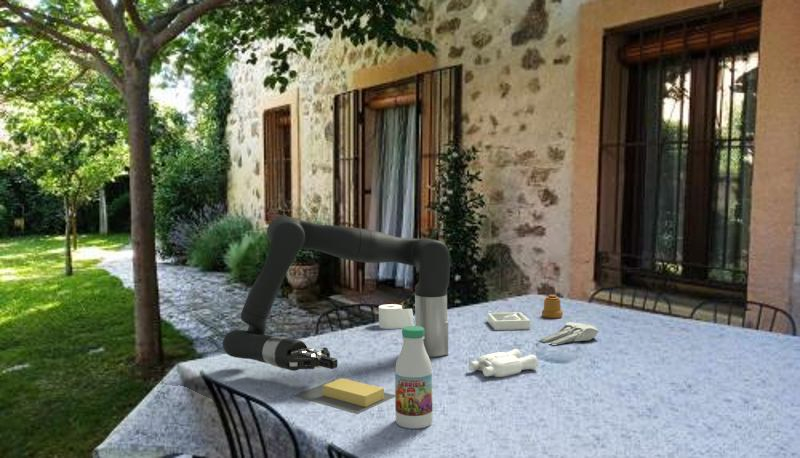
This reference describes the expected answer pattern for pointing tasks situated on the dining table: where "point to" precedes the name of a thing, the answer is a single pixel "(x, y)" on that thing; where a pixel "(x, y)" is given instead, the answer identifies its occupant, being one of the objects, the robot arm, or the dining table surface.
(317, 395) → the mat
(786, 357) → the dining table surface
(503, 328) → the holder
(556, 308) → the ornamental finial
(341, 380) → the box
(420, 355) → the milk bottle
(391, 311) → the toilet paper
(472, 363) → the binoculars
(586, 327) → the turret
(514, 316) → the whipped cream
